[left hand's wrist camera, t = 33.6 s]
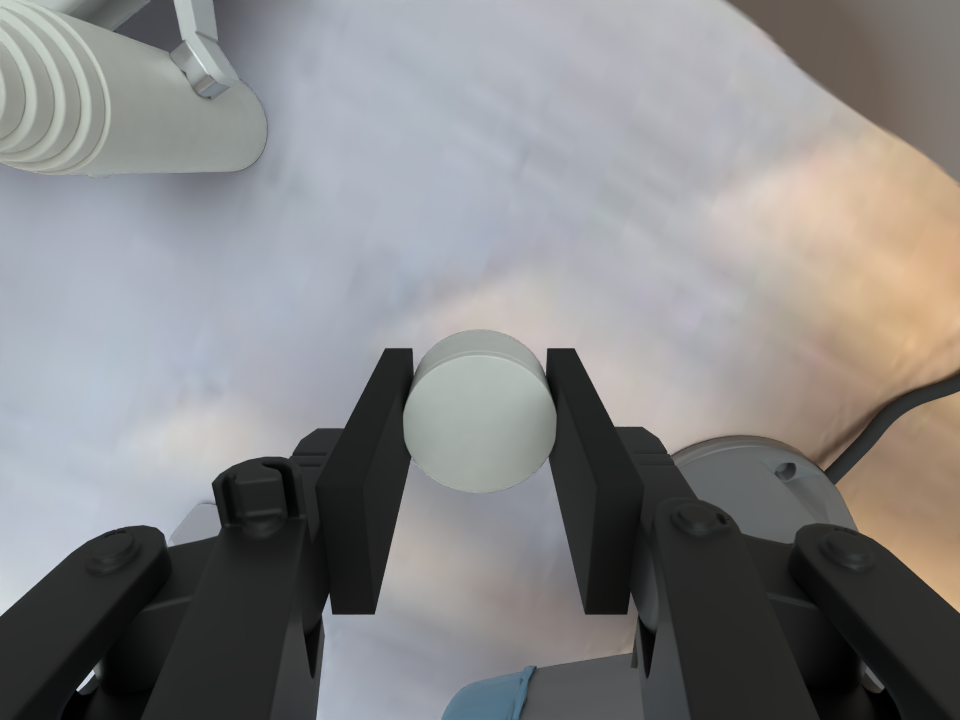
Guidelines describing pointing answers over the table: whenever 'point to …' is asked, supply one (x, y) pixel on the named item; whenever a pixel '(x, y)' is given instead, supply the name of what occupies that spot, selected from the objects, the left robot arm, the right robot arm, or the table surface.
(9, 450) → the table surface
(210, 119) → the bottle
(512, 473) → the cap
